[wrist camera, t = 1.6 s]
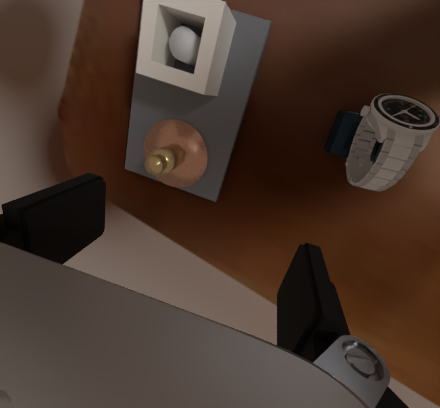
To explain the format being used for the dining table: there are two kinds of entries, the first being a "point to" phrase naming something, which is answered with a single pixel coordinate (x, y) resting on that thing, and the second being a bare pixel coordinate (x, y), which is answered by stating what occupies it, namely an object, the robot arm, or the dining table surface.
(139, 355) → the robot arm
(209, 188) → the board
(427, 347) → the dining table surface
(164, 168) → the hub
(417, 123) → the watch
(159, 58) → the square hollow frame
